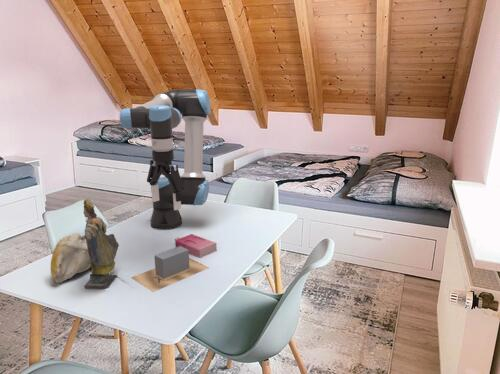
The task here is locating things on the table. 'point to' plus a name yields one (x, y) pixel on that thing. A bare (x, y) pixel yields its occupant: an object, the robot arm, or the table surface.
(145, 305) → the table surface
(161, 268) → the block
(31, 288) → the table surface
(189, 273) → the oak board
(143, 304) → the table surface
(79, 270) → the stone
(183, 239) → the pink flat block
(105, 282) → the statue
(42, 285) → the table surface
